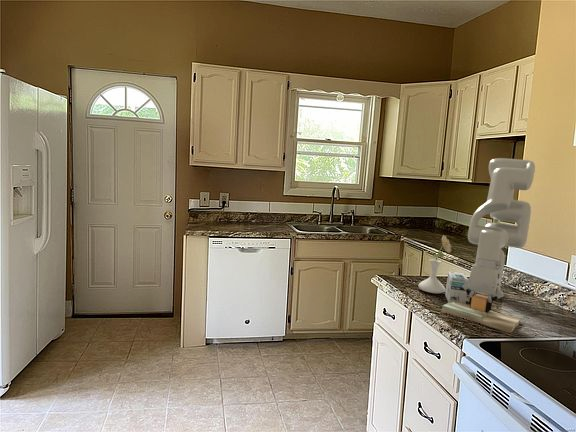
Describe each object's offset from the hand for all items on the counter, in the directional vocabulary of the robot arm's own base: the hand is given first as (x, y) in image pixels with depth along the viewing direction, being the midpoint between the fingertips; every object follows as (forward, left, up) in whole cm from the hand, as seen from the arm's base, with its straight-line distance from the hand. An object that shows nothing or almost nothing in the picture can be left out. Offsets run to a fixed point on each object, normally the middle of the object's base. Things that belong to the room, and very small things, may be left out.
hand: (479, 309), depth 166 cm
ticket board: (+4, +2, -2) cm, 4 cm away
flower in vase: (-13, -23, -2) cm, 27 cm away
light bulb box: (-9, -12, -2) cm, 16 cm away
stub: (0, 0, 0) cm, 0 cm away
